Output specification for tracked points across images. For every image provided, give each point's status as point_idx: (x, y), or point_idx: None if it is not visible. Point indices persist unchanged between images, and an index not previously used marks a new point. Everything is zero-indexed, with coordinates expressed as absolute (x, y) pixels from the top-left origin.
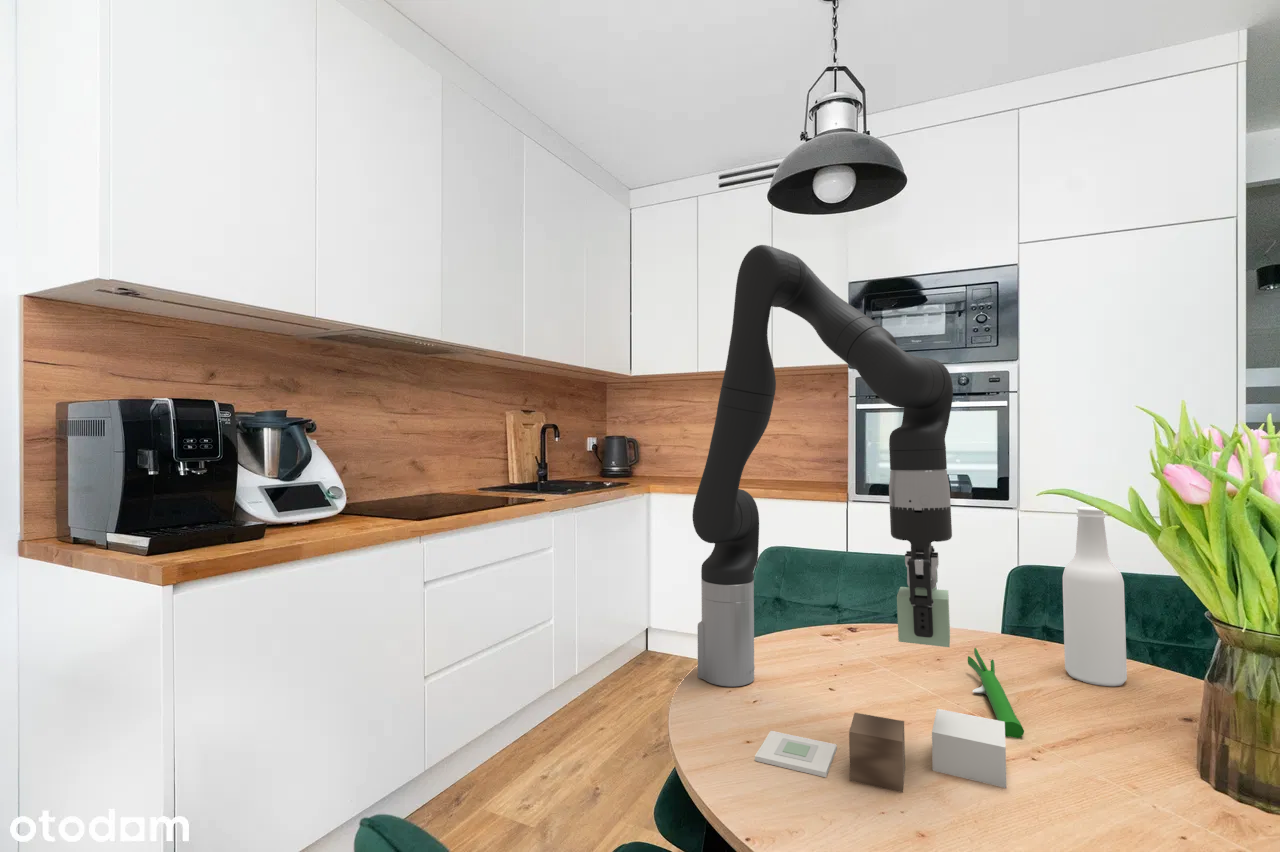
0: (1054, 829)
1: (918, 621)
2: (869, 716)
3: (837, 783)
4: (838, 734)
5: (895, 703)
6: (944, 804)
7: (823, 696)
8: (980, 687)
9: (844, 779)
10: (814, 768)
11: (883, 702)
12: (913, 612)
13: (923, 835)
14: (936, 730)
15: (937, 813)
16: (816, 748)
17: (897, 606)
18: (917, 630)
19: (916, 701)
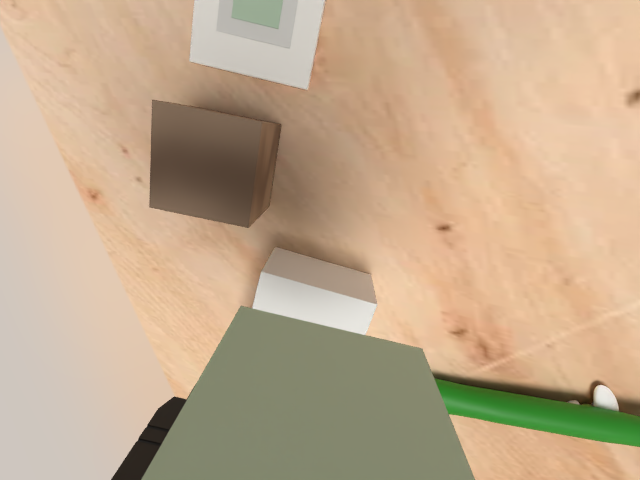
0: (173, 348)
1: (138, 446)
2: (249, 156)
3: (182, 84)
4: (375, 98)
5: (547, 236)
6: (181, 241)
7: (586, 72)
8: (610, 403)
9: (199, 97)
10: (195, 37)
11: (551, 212)
12: (145, 471)
13: (93, 198)
14: (270, 280)
15: (154, 227)
16: (274, 43)
17: (173, 426)
18: (162, 405)
19: (559, 278)
